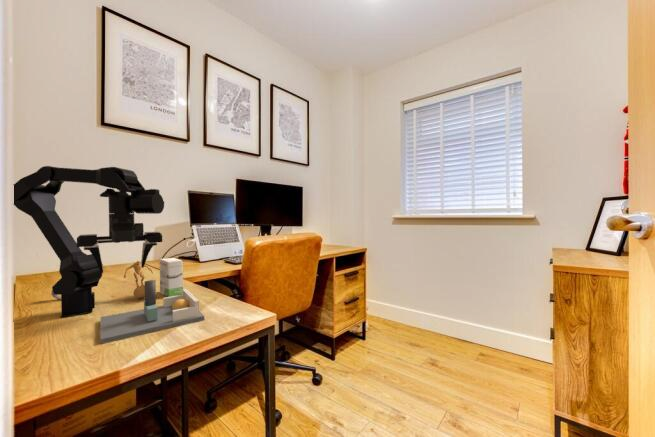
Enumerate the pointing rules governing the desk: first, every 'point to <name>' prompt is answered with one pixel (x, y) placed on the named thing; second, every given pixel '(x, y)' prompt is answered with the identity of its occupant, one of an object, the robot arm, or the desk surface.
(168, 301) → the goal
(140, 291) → the figurine
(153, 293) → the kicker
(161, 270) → the ink box
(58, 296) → the wristwatch
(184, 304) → the ball
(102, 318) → the board
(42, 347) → the desk surface
